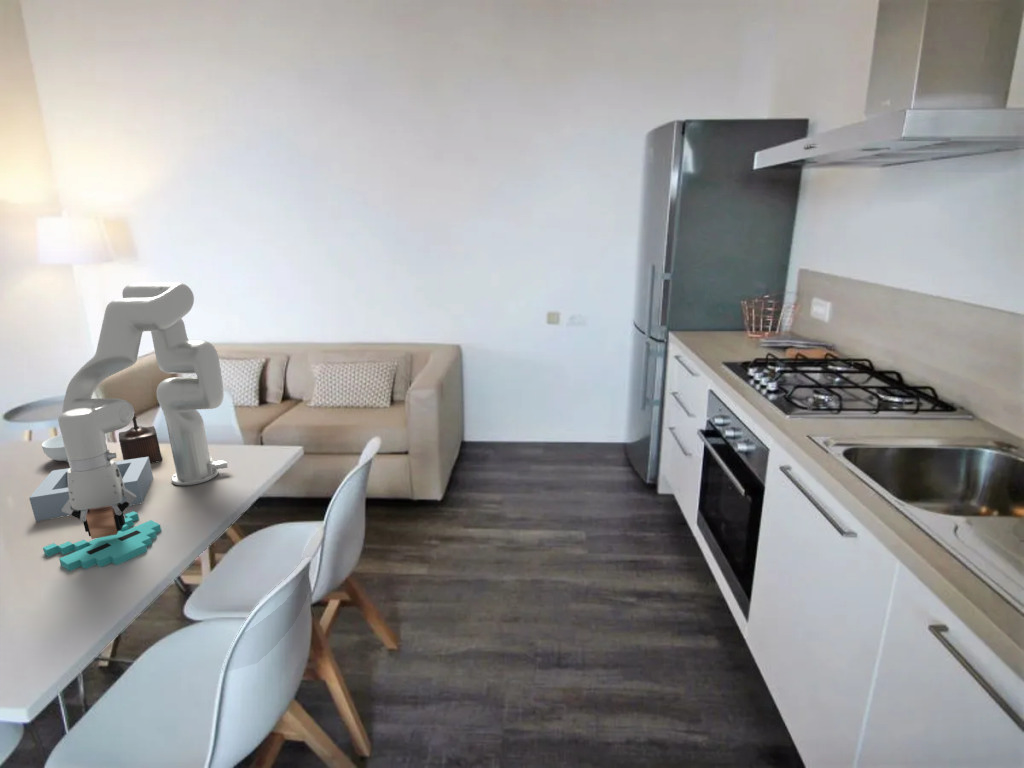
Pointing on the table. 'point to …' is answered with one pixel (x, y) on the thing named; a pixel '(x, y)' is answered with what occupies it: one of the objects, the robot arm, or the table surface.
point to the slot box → (56, 494)
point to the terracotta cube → (101, 522)
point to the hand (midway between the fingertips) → (106, 530)
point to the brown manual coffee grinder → (140, 443)
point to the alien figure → (107, 546)
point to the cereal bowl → (56, 448)
